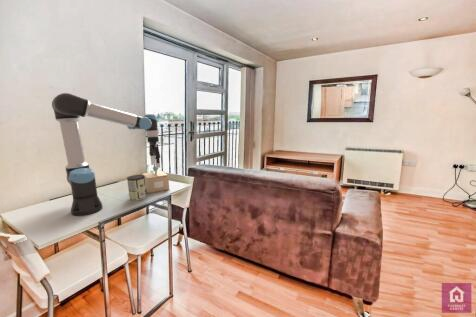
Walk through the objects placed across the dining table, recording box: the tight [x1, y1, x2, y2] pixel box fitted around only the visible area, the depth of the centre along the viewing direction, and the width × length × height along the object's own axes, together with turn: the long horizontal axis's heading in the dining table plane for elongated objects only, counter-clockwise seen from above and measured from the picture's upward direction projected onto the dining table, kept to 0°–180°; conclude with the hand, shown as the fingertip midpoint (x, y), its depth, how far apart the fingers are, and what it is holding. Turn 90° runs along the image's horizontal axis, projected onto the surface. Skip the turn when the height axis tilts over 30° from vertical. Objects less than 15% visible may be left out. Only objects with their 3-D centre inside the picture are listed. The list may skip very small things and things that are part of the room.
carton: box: [141, 171, 170, 194], centre depth 173 cm, size 14×18×11 cm
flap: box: [151, 165, 169, 177], centre depth 174 cm, size 8×17×7 cm, turn 33°
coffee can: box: [126, 174, 147, 201], centre depth 154 cm, size 10×10×14 cm
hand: (155, 166), depth 172 cm, fingers open, 13 cm apart
